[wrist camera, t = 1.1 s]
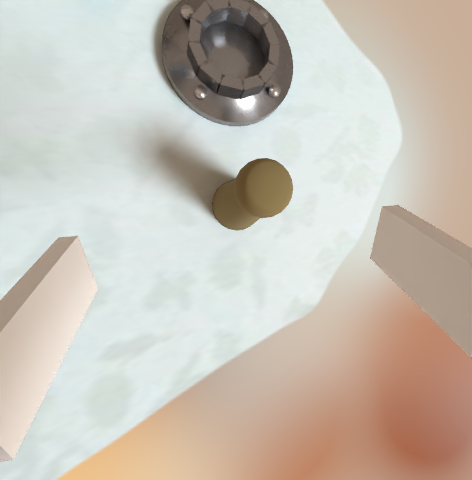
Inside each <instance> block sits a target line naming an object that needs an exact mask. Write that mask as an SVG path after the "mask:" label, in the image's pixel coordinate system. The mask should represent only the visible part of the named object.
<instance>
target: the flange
mask: <svg viewBox="0 0 472 480" xmlns="http://www.w3.org/2000/svg"><path fill="white" fill-rule="evenodd" d="M162 54H163V63H164V67H165V71H166V74H167V76H168V79H169V81H170V83H171V85H172V87H173V88H174V90H175V91H176V93H177V94H178V96H179V97H180V98H181V99H182V100H183V101H184V103H185V104H187V105H188V106H189V107H190V108H191V109H192V110H193V111H195V112H196V113H198V114H199V115H201V116H202V117H204V118H206V119H208V120H211V121H213V122H215V123H219V124H223V125H229V126H245V125H250V124H254V123H257V122H259V121H261V120H263V119H265V118H266V117H268V116H269V115H270V114H272V113H273V112H274V111H275V110H276V108H277V107H278V106H279V105H280V104H281V102H282V101H283V100H284V98H285V96H286V95H287V93H288V90H289V88H290V85H291V81H292V75H293V60H292V54H291V49H290V46H289V43H288V40H287V38H286V36H285V34H284V32H283V30H282V29H281V27H280V25H279V24H278V23H277V21H276V20H275V19H274V17H273V16H272V15H271V14H270V13H269V12H268V11H267V10H266V9H264V8H263V7H262V6H261V5H260V4H258V3H257V2H255V1H254V0H182V1H181V2H179V3H178V4H177V5H176V6H175V8H174V9H173V10H172V12H171V13H170V15H169V17H168V19H167V21H166V24H165V27H164V32H163V40H162Z"/></svg>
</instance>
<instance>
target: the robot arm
mask: <svg viewBox="0 0 472 480" xmlns="http://www.w3.org/2000/svg"><path fill="white" fill-rule="evenodd" d="M370 258H371V259H372V260H373V261H374V262H375V263H376V264H377V265H378V266H379V267H380V268H381V269H382V270H383V271H384V272H385V273H386V274H387V275H388V276H389V277H390V278H391V279H392V280H393V281H394V282H395V283H396V284H397V285H398V286H399V287H400V288H401V289H402V290H403V291H404V292H405V293H406V294H407V295H408V296H409V297H410V298H411V299H412V300H413V301H414V302H415V303H416V304H417V305H418V306H419V307H420V308H421V309H422V310H423V311H424V312H425V313H426V314H427V315H428V316H429V317H430V318H431V319H432V320H433V321H434V322H435V323H436V324H437V325H438V326H439V327H440V328H441V329H442V330H443V331H444V332H446V334H447V335H448V336H450V338H451V339H452V340H454V342H456V344H457V345H459V346H460V347H461V348H462V349H463V350H464V351H465V352H466V353H467V354H468V355H469V356H470V357H471V358H472V248H470V247H469V246H467V245H465V244H464V243H462V242H460V241H458V240H457V239H454V238H453V237H451V236H450V235H448V234H446V233H445V232H443V231H441V230H440V229H438V228H436V227H435V226H433V225H431V224H429V223H428V222H426V221H424V220H423V219H421V218H419V217H418V216H416V215H414V214H412V213H411V212H409V211H407V210H405V209H404V208H402V207H400V206H399V205H395V206H384V207H382V209H381V213H380V218H379V222H378V226H377V231H376V235H375V239H374V243H373V248H372V252H371V256H370ZM97 290H98V287H97V285H96V282H95V279H94V277H93V274H92V271H91V269H90V266H89V263H88V261H87V258H86V256H85V253H84V250H83V248H82V245H81V242H80V240H79V237H78V236H72V237H62V238H58V239H57V240H56V241H55V242H54V243H53V244H52V245H51V246H50V247H49V249H48V250H47V251H46V252H45V253H44V254H43V255H42V256H41V257H40V258H39V259H38V260H37V262H36V263H35V264H34V265H33V266H32V267H31V268H30V269H29V270H28V271H27V272H26V273H25V275H24V276H23V277H22V278H21V279H20V280H19V281H18V282H17V283H16V284H15V285H14V286H13V287H12V289H11V290H10V291H9V292H8V293H7V294H6V295H5V296H4V297H3V298H2V299H1V300H0V462H1V461H8V460H13V459H14V457H15V455H16V453H17V451H18V449H19V447H20V445H21V443H22V441H23V439H24V437H25V435H26V433H27V431H28V429H29V427H30V425H31V423H32V421H33V419H34V417H35V415H36V413H37V411H38V409H39V407H40V405H41V403H42V401H43V399H44V397H45V395H46V393H47V391H48V389H49V387H50V385H51V383H52V381H53V379H54V377H55V375H56V373H57V371H58V369H59V366H60V364H61V362H62V360H63V358H64V356H65V354H66V352H67V350H68V348H69V346H70V344H71V342H72V340H73V338H74V336H75V334H76V332H77V330H78V328H79V326H80V324H81V322H82V320H83V318H84V316H85V314H86V312H87V310H88V308H89V306H90V304H91V302H92V300H93V298H94V296H95V294H96V292H97Z"/></svg>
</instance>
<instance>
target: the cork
mask: <svg viewBox="0 0 472 480" xmlns="http://www.w3.org/2000/svg"><path fill="white" fill-rule="evenodd" d="M292 192H293V185H292V179H291V177H290V175H289V173H288V171H287V170H286V169H285V168H284V166H283V165H281V164H280V163H278V162H277V161H275V160H272V159H268V158H263V159H256V160H253V161H251V162H249V163H247V164H246V165H245V166H244V167H243V168H242V169H241V170H240V172H239V173H238V175H237V177H236V179H234V180H232V181H229V182H227V183H225V184H223V185H222V186H221V187H220V188H218V189H217V191H216V193H215V195H214V197H213V202H212V207H213V212H214V215H215V217H216V219H217V220H218V221H219V222H220V223H221V224H222V225H223V226H225V227H227V228H228V229H232V230H243V229H246V228H248V227H250V226H251V225H252V224H254V223H255V222H256V221H257V220H258V219H259V218H266V217H272V216H274V215H277V214H279V213H281V212H282V211H283V210H284V209H285V208H286V206H287V205H288V204H289V202H290V200H291V198H292Z"/></svg>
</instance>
